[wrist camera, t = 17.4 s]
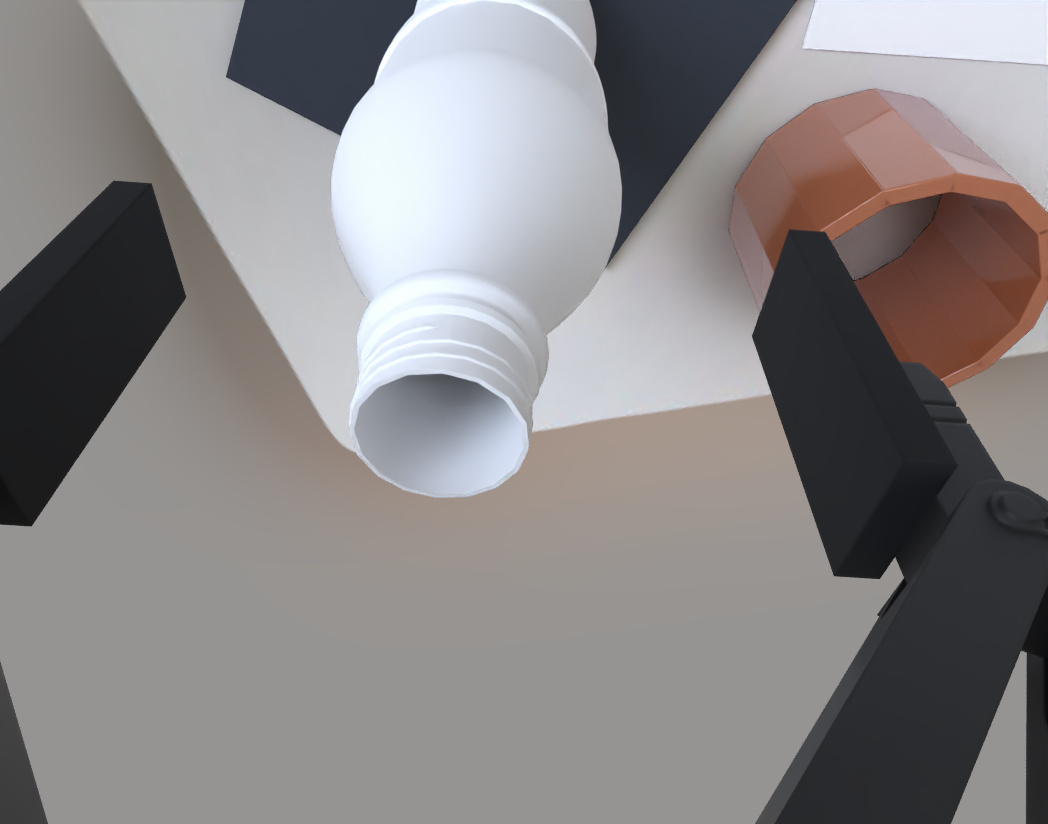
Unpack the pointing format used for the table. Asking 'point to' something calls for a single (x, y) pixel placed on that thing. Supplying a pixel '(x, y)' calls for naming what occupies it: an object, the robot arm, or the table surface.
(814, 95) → the table surface
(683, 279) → the table surface
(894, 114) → the terracotta flower pot
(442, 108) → the water bottle
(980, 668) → the robot arm
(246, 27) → the mat
